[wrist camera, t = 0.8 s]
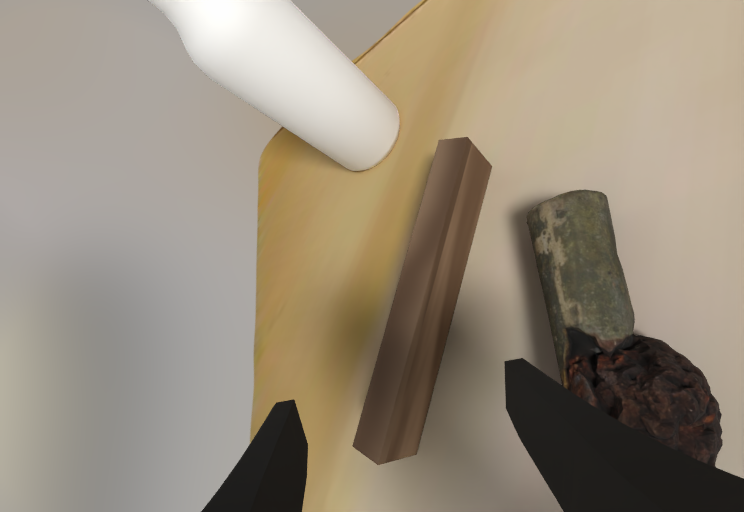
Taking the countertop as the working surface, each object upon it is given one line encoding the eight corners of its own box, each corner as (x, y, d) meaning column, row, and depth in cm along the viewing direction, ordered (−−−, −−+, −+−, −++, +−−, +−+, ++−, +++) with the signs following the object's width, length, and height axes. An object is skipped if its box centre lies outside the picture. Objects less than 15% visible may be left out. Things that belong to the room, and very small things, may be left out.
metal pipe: (535, 229, 26) (510, 199, 22) (646, 201, 22) (642, 158, 18) (587, 511, 20) (566, 544, 16) (755, 542, 16) (786, 596, 12)
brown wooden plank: (492, 166, 29) (467, 137, 26) (416, 454, 27) (377, 465, 23) (465, 167, 31) (438, 140, 28) (391, 438, 29) (352, 446, 25)
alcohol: (417, 127, 36) (28, -263, 14) (362, 189, 39) (-32, -57, 17) (382, 92, 42) (57, -232, 20) (335, 149, 44) (8, -78, 23)
